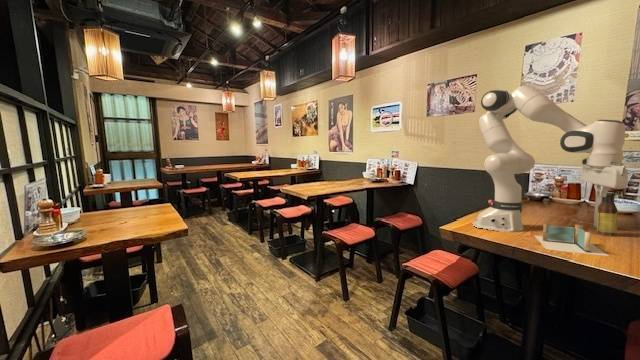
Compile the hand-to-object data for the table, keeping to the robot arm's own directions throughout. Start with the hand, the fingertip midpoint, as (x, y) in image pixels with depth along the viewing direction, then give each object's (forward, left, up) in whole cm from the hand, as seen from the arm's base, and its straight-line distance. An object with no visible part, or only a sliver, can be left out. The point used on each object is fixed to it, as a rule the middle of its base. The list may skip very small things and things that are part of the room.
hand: (600, 196), depth 103 cm
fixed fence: (-11, +1, -21) cm, 23 cm away
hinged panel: (-6, -5, -20) cm, 21 cm away
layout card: (-9, -2, -21) cm, 23 cm away
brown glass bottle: (+14, +34, -21) cm, 42 cm away
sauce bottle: (+11, +22, -21) cm, 32 cm away
